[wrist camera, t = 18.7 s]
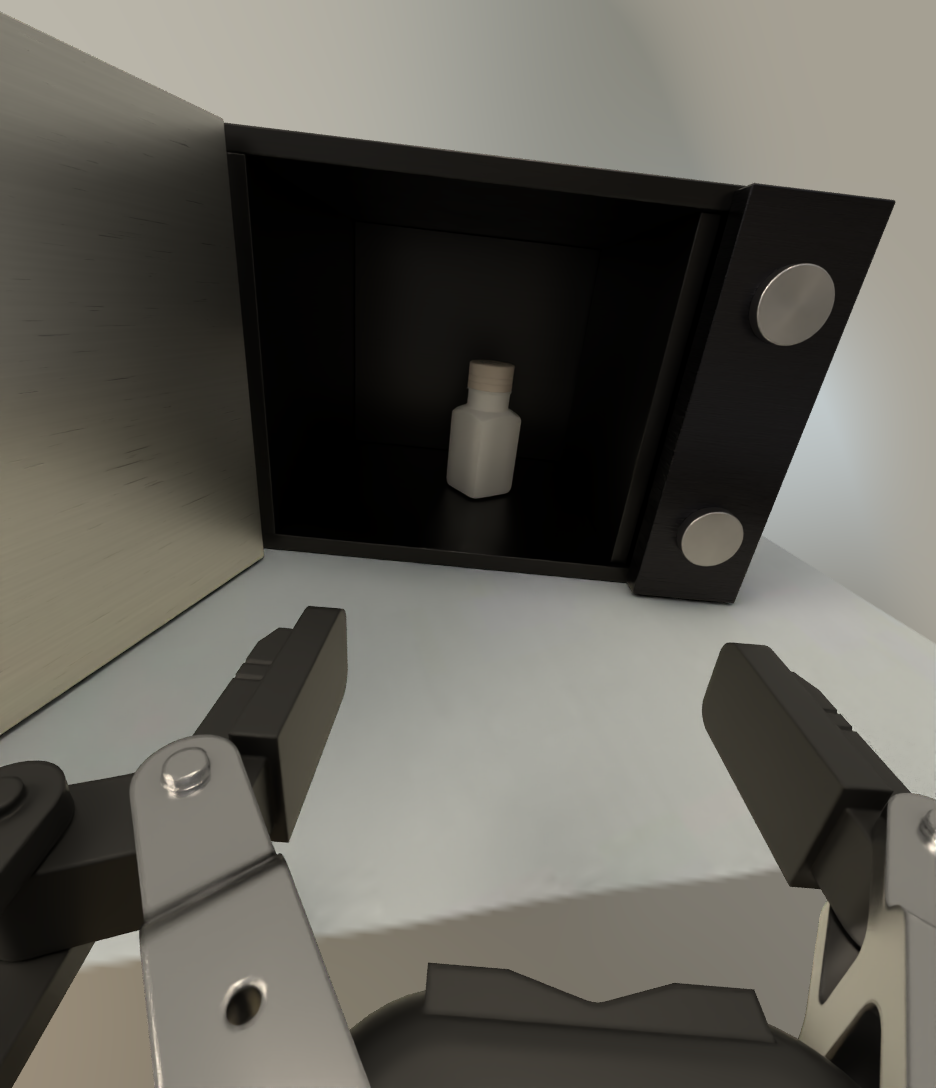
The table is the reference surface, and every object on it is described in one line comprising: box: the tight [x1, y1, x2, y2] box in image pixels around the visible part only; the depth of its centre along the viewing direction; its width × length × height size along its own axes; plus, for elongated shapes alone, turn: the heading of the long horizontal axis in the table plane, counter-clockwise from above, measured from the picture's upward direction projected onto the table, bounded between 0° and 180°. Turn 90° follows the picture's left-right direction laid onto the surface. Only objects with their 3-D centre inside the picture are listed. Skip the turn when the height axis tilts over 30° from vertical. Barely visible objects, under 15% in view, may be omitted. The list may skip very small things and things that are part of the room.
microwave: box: [224, 123, 895, 603], centre depth 34 cm, size 24×28×20 cm
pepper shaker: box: [446, 360, 521, 499], centre depth 37 cm, size 4×4×10 cm
